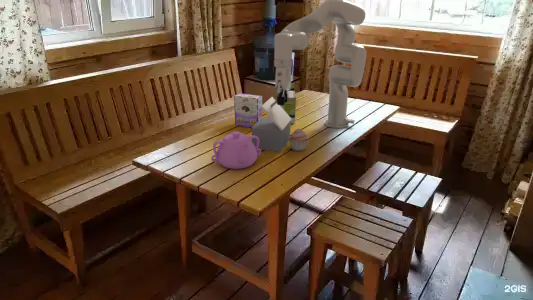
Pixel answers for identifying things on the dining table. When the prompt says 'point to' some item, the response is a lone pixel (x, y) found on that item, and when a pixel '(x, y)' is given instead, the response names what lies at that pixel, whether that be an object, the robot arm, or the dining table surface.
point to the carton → (270, 135)
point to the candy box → (247, 109)
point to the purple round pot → (236, 151)
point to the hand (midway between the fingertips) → (282, 103)
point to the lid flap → (276, 113)
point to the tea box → (290, 105)
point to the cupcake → (298, 140)
